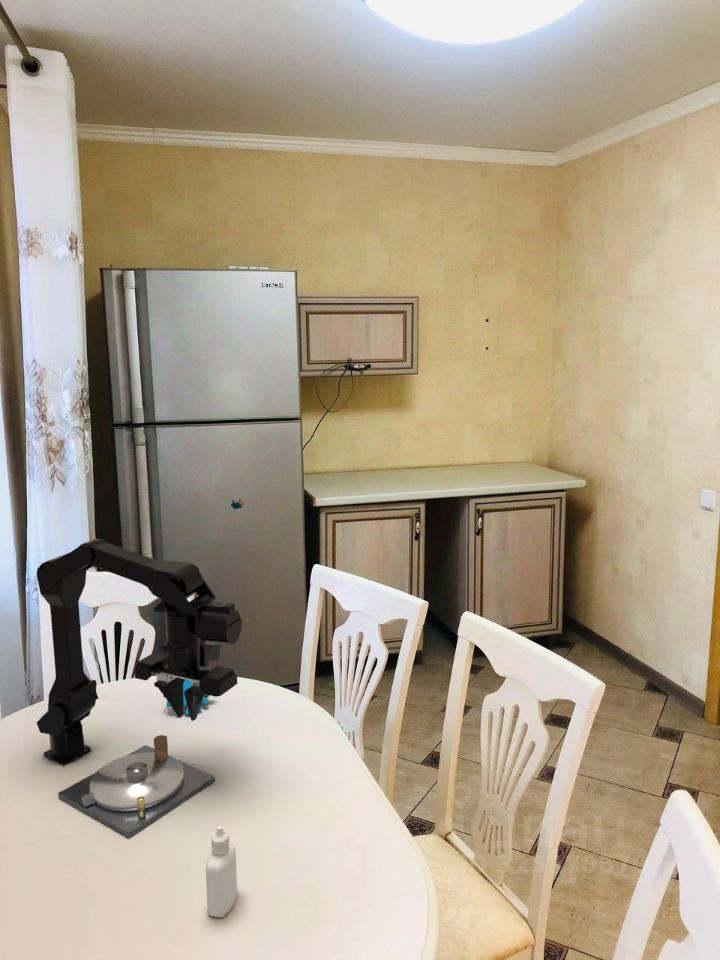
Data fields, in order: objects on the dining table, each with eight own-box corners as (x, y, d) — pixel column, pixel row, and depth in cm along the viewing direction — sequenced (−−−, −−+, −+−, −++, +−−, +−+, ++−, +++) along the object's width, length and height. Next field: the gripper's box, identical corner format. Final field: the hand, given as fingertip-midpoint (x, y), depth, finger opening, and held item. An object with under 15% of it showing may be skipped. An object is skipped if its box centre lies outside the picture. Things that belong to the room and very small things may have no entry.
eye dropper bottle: (197, 906, 102) (193, 830, 100) (229, 885, 106) (226, 811, 104) (215, 923, 99) (212, 844, 97) (248, 900, 103) (245, 824, 101)
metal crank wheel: (63, 794, 126) (61, 766, 125) (144, 749, 140) (142, 724, 139) (122, 827, 117) (120, 798, 116) (202, 776, 131) (201, 749, 130)
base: (58, 798, 127) (56, 777, 126) (145, 749, 142) (144, 730, 141) (128, 838, 116) (127, 816, 115) (214, 781, 132) (214, 761, 131)
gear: (165, 715, 152) (163, 669, 158) (160, 724, 157) (158, 680, 162) (217, 711, 157) (213, 667, 162) (211, 721, 161) (208, 678, 167)
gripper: (253, 628, 131) (255, 708, 134) (170, 613, 139) (174, 689, 141) (216, 651, 121) (220, 737, 124) (129, 634, 129) (134, 715, 131)
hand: (187, 718), depth 130 cm, fingers open, 3 cm apart
